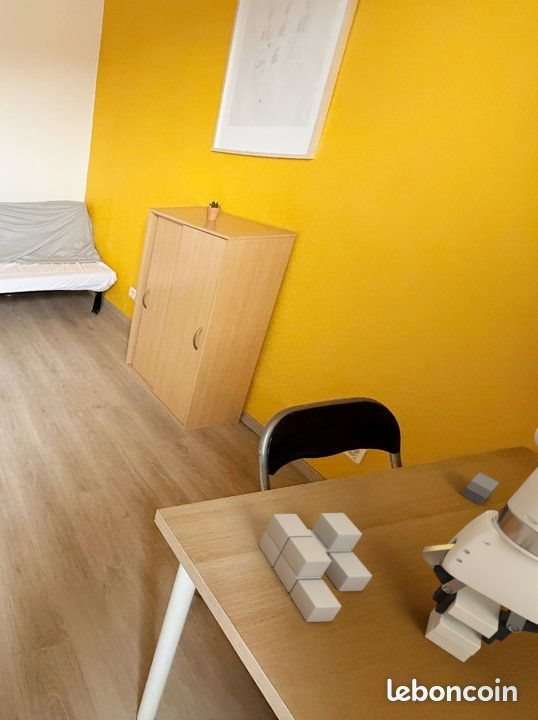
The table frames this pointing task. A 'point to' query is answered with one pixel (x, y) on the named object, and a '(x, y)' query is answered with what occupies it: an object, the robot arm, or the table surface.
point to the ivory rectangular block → (453, 635)
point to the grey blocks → (479, 488)
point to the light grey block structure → (315, 561)
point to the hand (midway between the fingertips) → (462, 619)
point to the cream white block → (476, 611)
